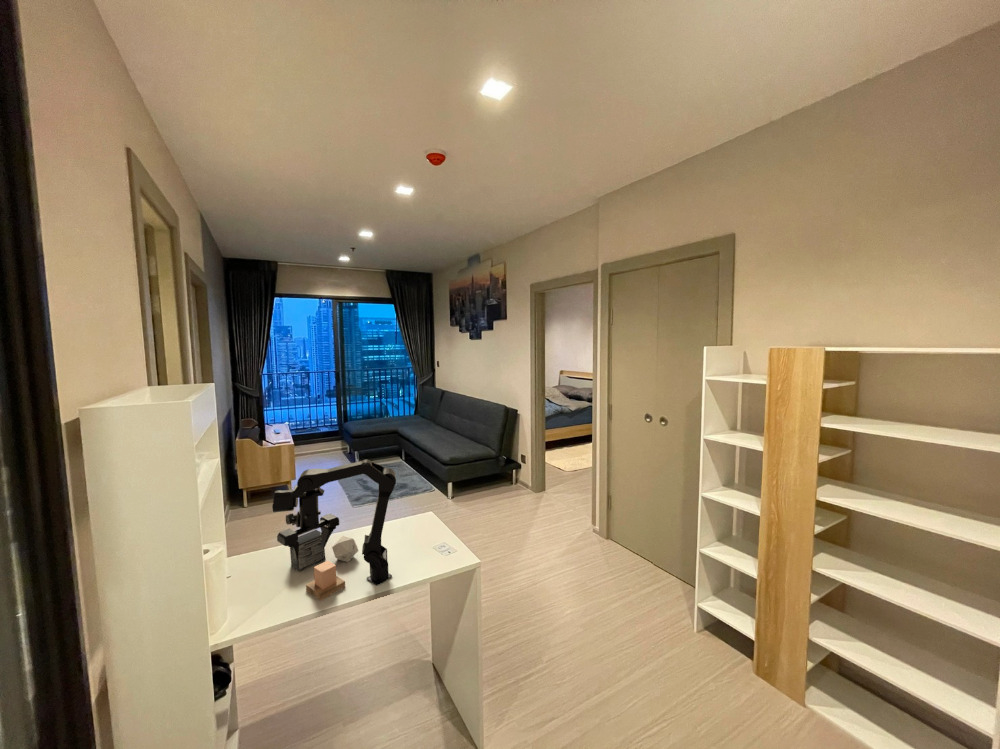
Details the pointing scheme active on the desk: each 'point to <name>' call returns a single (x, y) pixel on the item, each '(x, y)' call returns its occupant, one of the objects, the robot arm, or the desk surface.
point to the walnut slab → (325, 589)
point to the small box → (308, 551)
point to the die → (345, 548)
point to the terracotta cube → (325, 574)
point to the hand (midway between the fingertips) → (310, 553)
